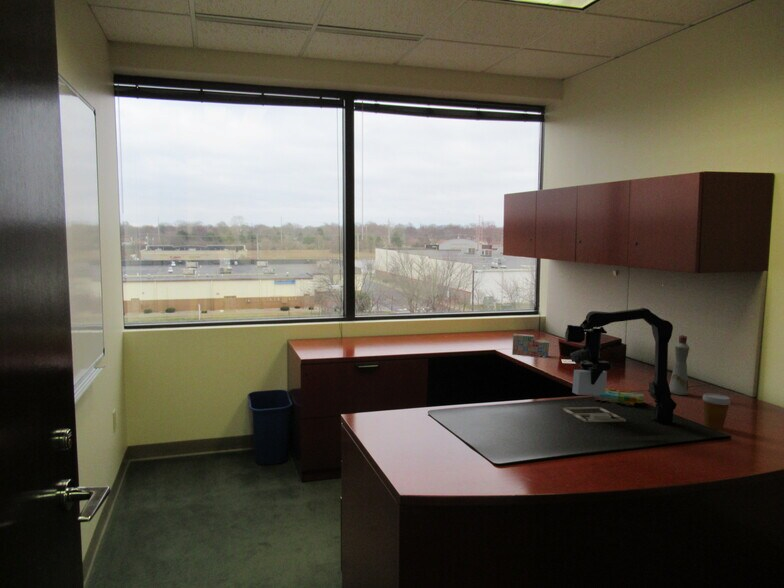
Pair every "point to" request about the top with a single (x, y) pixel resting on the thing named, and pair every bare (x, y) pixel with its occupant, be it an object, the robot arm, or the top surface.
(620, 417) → the frame
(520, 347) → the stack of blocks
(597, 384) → the light grey block
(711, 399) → the disposable coffee cup
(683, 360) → the bottle
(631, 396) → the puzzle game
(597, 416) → the offcut upper
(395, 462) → the top surface
